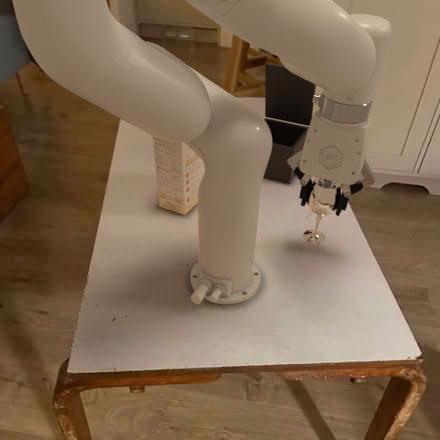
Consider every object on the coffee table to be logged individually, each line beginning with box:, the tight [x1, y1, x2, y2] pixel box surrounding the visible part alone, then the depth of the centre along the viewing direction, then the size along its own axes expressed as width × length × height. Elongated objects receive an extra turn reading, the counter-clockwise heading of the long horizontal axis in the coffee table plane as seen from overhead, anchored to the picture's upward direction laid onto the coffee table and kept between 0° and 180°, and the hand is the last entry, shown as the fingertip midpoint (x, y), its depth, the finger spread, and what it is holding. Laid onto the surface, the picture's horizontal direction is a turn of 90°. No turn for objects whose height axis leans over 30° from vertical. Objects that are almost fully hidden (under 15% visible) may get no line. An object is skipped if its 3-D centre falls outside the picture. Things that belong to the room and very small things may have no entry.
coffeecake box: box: [152, 136, 205, 216], centre depth 94 cm, size 15×7×20 cm, turn 152°
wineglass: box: [302, 177, 342, 245], centre depth 82 cm, size 6×6×12 cm
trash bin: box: [263, 117, 309, 185], centre depth 107 cm, size 13×12×9 cm
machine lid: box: [264, 62, 317, 127], centre depth 104 cm, size 13×12×5 cm
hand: (321, 206), depth 81 cm, fingers closed on wineglass, 5 cm apart
